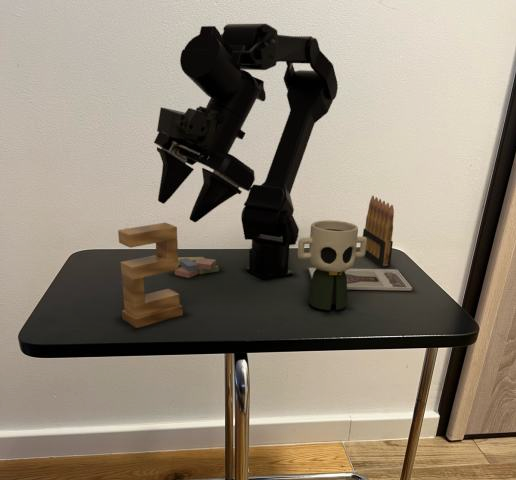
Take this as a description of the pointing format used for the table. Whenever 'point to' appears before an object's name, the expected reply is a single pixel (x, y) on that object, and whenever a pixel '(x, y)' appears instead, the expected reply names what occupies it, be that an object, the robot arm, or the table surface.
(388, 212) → the ammunition clip
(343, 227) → the character mug
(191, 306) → the table surface
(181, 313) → the wooden numeral
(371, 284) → the graded card
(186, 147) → the robot arm
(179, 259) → the letter pile
